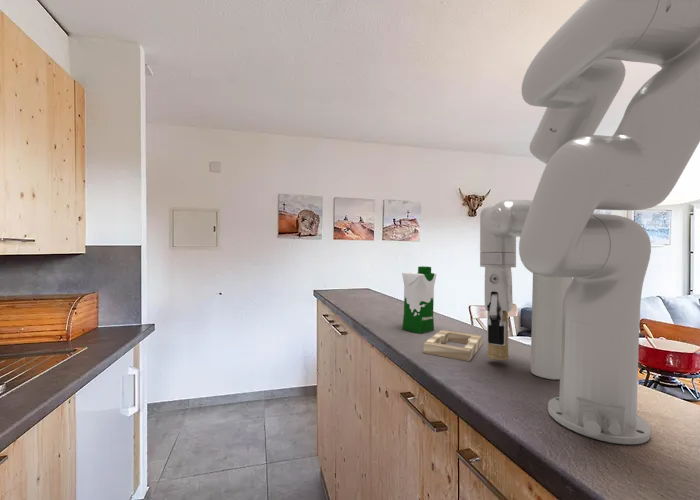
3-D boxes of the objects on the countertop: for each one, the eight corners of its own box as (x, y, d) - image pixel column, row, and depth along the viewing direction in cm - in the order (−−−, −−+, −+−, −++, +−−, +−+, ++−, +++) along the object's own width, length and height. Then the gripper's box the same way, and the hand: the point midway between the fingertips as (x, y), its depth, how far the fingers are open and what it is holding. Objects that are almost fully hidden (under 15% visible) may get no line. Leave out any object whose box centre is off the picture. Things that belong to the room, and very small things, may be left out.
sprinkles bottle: (511, 357, 76) (511, 298, 77) (503, 362, 73) (503, 300, 73) (491, 353, 80) (491, 296, 80) (483, 357, 76) (483, 298, 77)
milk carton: (420, 335, 100) (421, 267, 100) (397, 328, 107) (398, 266, 107) (438, 330, 106) (439, 266, 106) (415, 324, 113) (416, 265, 113)
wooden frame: (469, 361, 78) (469, 351, 78) (423, 352, 84) (423, 343, 84) (481, 344, 92) (482, 335, 92) (441, 338, 97) (441, 329, 97)
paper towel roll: (529, 376, 69) (532, 272, 69) (531, 367, 75) (533, 270, 74) (571, 384, 66) (574, 274, 65) (570, 374, 71) (572, 272, 71)
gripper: (512, 261, 68) (512, 352, 67) (519, 260, 82) (519, 336, 82) (473, 260, 72) (472, 347, 71) (486, 260, 86) (486, 332, 86)
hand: (497, 340), depth 76 cm, fingers closed on sprinkles bottle, 4 cm apart
